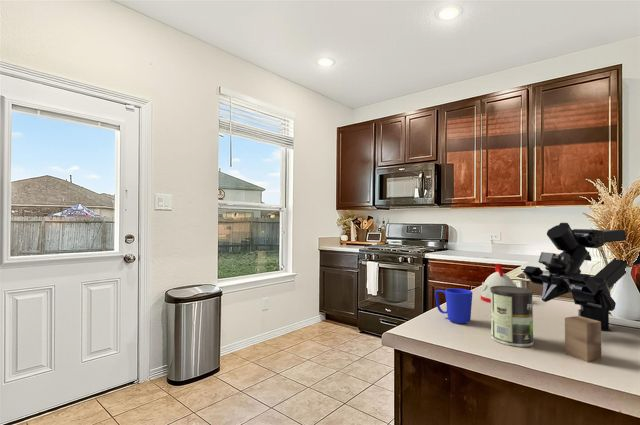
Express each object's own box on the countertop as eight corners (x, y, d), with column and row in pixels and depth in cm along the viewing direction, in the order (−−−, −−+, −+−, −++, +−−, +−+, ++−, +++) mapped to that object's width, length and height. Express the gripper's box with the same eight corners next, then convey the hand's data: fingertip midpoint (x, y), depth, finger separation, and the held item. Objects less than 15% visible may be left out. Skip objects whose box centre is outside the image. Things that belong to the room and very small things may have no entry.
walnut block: (579, 351, 83) (578, 315, 84) (601, 359, 79) (600, 321, 79) (565, 353, 82) (564, 317, 82) (587, 362, 77) (586, 323, 77)
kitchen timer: (512, 297, 141) (512, 262, 141) (524, 305, 127) (523, 267, 128) (477, 295, 144) (476, 261, 144) (485, 303, 130) (485, 266, 131)
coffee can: (533, 337, 93) (532, 287, 93) (534, 350, 84) (533, 294, 84) (492, 331, 98) (491, 284, 99) (489, 342, 90) (488, 290, 90)
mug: (441, 313, 116) (441, 285, 116) (476, 321, 108) (476, 290, 108) (430, 318, 111) (430, 289, 111) (466, 327, 102) (466, 294, 102)
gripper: (527, 240, 106) (501, 276, 103) (590, 245, 89) (562, 288, 85) (545, 264, 109) (520, 300, 105) (610, 273, 91) (583, 316, 87)
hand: (543, 300), depth 95 cm, fingers closed
